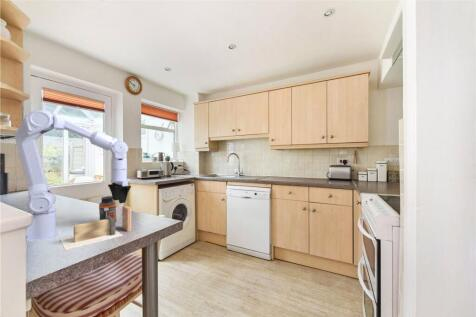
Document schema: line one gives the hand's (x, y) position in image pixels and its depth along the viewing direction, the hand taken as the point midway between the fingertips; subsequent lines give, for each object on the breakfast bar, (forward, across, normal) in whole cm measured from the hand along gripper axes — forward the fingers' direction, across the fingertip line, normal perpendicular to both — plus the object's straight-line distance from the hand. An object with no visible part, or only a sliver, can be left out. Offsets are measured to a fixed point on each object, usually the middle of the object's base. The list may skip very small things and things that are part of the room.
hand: (119, 201), depth 86 cm
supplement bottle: (+10, +4, +3) cm, 11 cm away
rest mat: (+10, -10, +11) cm, 18 cm away
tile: (+10, -10, 0) cm, 14 cm away
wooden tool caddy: (+9, -10, +11) cm, 18 cm away
